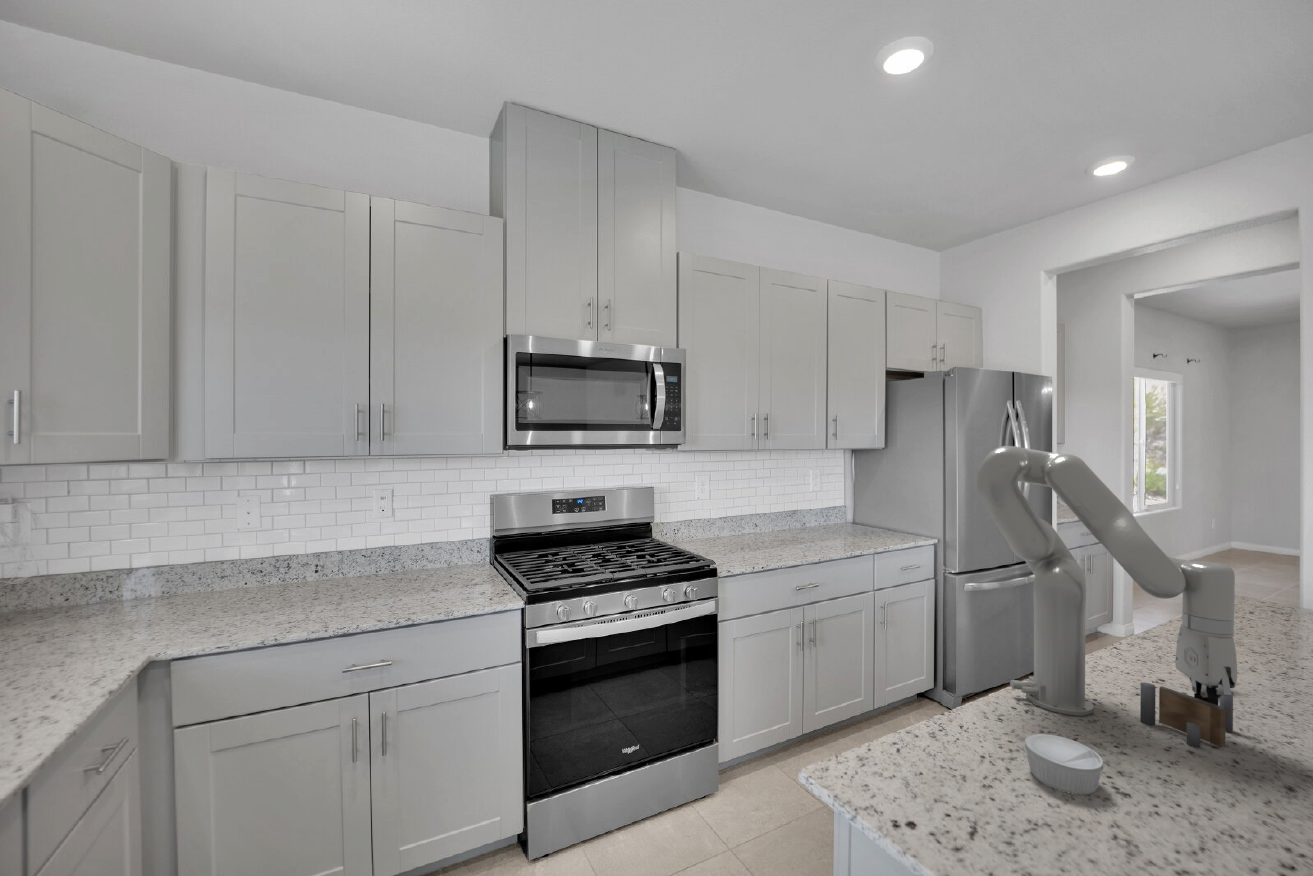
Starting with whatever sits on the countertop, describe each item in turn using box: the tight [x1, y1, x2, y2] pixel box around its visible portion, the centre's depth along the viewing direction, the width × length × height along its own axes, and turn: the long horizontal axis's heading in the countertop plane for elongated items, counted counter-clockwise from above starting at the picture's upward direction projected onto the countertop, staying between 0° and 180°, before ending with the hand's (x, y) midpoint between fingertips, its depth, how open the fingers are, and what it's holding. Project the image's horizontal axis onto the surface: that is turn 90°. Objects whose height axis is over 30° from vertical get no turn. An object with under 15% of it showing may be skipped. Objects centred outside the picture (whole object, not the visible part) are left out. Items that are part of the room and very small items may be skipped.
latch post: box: [1218, 690, 1234, 733], centre depth 118 cm, size 2×2×8 cm
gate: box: [1158, 685, 1226, 748], centre depth 115 cm, size 10×2×8 cm, turn 20°
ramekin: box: [1024, 733, 1104, 795], centre depth 100 cm, size 11×11×5 cm
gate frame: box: [1139, 681, 1202, 749], centre depth 117 cm, size 2×11×8 cm, turn 7°
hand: (1205, 715), depth 115 cm, fingers closed
